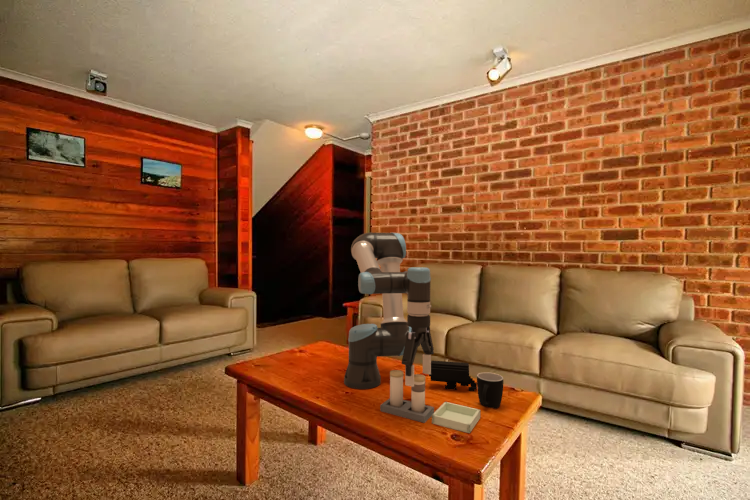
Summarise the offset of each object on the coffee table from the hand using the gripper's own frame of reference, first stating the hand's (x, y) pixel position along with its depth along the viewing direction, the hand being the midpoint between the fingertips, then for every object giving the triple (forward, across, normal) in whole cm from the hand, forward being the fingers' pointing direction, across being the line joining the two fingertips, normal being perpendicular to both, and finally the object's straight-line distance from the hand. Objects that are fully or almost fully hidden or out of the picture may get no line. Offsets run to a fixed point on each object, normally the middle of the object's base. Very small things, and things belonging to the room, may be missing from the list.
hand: (418, 379), depth 119 cm
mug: (+12, +20, -18) cm, 30 cm away
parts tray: (+12, +3, -12) cm, 17 cm away
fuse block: (+12, 0, +4) cm, 13 cm away
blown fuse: (+12, 0, 0) cm, 12 cm away
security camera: (+12, +30, -1) cm, 32 cm away
